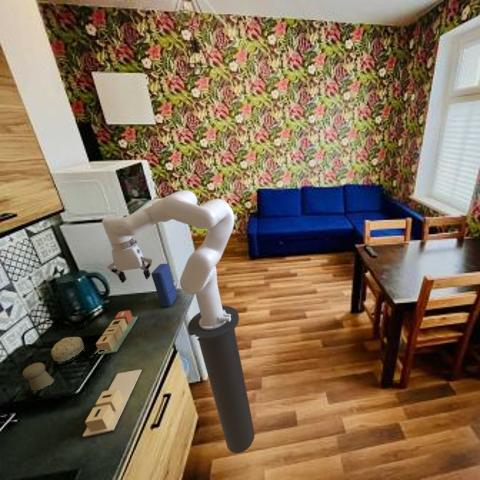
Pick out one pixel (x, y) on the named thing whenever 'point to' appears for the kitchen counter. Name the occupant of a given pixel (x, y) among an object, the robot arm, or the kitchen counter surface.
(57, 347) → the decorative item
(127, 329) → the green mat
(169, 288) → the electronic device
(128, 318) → the letter block
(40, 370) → the cork
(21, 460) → the kitchen counter surface
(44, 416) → the kitchen counter surface
